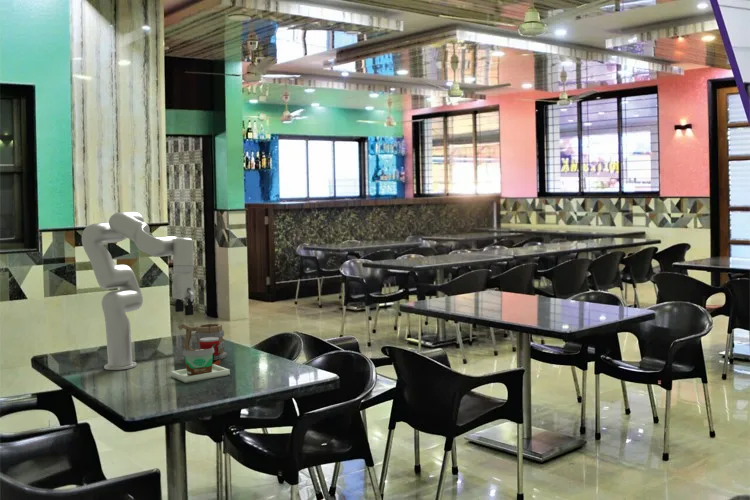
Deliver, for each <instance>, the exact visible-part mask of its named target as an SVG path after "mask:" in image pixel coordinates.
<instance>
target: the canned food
mask: <svg viewBox="0 0 750 500" xmlns="http://www.w3.org/2000/svg"><path fill="white" fill-rule="evenodd" d="M212 346H213V348H214V351H215V352H214V353H213V360H212V364H215V365H218V366H221V359H220V345H219V338H218V337H206V338H201V339H200V349H210V348H212Z"/></svg>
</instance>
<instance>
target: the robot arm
mask: <svg viewBox="0 0 750 500" xmlns="http://www.w3.org/2000/svg"><path fill="white" fill-rule="evenodd" d="M150 232H151V230H150V226H149V224H147V222H145V220H144V217H143V215H141V214H140V213H139V212H136V211H121V212H119V211H118V212H115V213H113V214H112V215H111V216H110V217H109V220H108V222H97V223H96V222H95V223H91V224H89V225H87V226H86V227H85V228H84V229H83V231H82V234H81V244H82V247H83V249H84V252H85V253H86V256H87V258H88V260H89V262H90V264H91V267H92V271H93V273H94V275H95V279H96V282H97V284H98V286H99V287H100V288H101V289H103V290H112V289H117V290H112V291H109V292H107V293H105V294H104V295H103V297H102V299H101V309H102V311H103V316H104V321H105V335H106V352H107V355H106V356H107V363H106V364H105V365H104V367H103V368H104V369H105V370H108V371H121V370H128V369H133V368H134V367H137V362H136V361H133V353H132V351H133V350H132V349H133V348H132V336H131V335H132V333H131V332H132V331H131V322H130V319H129V317H128V316H127V313H128V312H133V311H137V310H138V309H140V308H141V307H142V306H143V302H144V299H143V298H144V297H143V293H142V291H141V288H140V286H139V285H140V284H139V282H138V280H137V276H136V275H135V272H134V271H133V269H132V268H131V267H130V266H129V265H127V264H123V263H122V264H115V262H114V260H113V257H112V254H111V253H110V251H109V250H108V249H107V248H106V247H105V246H104V245H103V244H112V243H113V244H114V243H119V242H122V241H124V240H127V239H129V240H131V241H133V242H134V244H135V246H136V248H137V249H138V250H139V251H141V252H143V253H145V254H147V255H149V256H152V257H156V258H158V257H160V258H161V257H167V256H169V257H170V256H172V257H173V259H172V261H173V262H172V263H173V264H172V265H173V279H172V280H173V281H172V297H174V304H175V305H174V309H175V311H174V312H176V313H181V312H184V315H185V316H186V317H187V316H193V315H194V304H195V303H194V301H195V299H194V298H195V294H194V293H195V291H194V277H193V274H194V241H193V239H192V238H191V237H179V236H174V235H171V236H170V235H169V236H158V237H155V236H153V235H151V234H150ZM118 288H119V289H118ZM184 303H185V305H184Z"/></svg>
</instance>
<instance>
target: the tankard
mask: <svg viewBox="0 0 750 500" xmlns="http://www.w3.org/2000/svg"><path fill="white" fill-rule="evenodd" d="M177 328H178V330H179V331H181V330H183V329H184V330H185V337H184V341H183V347H184V350H188V351H193V350H197V349H200V339H201V338H206V337H218V338H219V345H220V360H223V359H225V358H226V357H227V356H228V352H226V351H224V348H225V346H226V344H225V341H224V338H223V337H224V336H225V331H224V329H223V324H221V323H203V324H199V325H196V326H191V325H188V324H186V323H181V324H180V325H179V326H177ZM192 332H194V338H195V339H196V343H195V348H191V346H190V342H191V339H192Z"/></svg>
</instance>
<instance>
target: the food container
mask: <svg viewBox="0 0 750 500" xmlns="http://www.w3.org/2000/svg"><path fill="white" fill-rule="evenodd" d="M214 352H215V351H214V348H213V346H212V348H210V349H197V350H193V351H188V350H185V349H183V350H182V356H184V361H185V369H187V375H188V376H193V375H199V374H204V373H210V372H212V360H213V353H214Z"/></svg>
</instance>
